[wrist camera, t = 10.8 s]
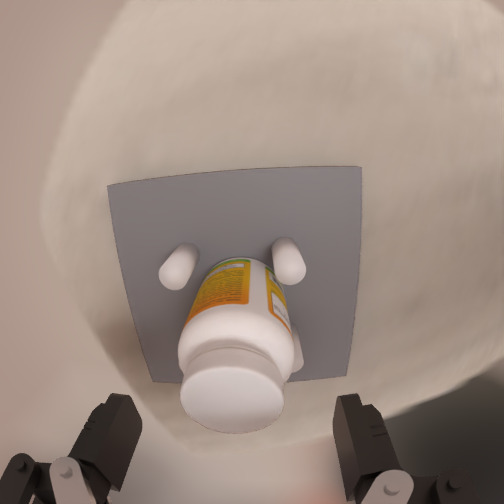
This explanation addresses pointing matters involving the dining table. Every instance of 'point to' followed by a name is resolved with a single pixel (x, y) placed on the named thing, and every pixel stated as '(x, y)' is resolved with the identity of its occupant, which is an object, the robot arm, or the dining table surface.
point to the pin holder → (243, 254)
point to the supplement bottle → (236, 348)
